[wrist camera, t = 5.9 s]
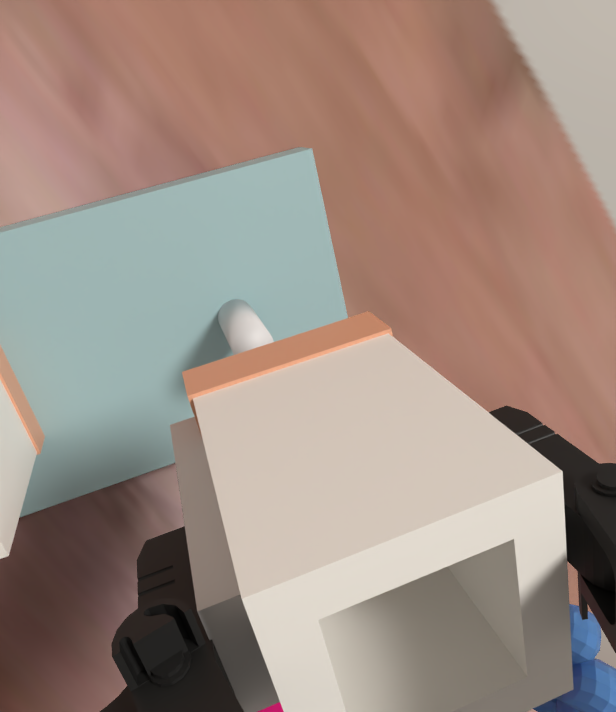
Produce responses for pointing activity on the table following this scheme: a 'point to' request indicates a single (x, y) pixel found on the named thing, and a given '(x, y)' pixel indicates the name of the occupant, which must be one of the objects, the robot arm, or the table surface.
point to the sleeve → (385, 528)
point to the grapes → (586, 671)
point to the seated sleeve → (14, 451)
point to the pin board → (155, 308)
